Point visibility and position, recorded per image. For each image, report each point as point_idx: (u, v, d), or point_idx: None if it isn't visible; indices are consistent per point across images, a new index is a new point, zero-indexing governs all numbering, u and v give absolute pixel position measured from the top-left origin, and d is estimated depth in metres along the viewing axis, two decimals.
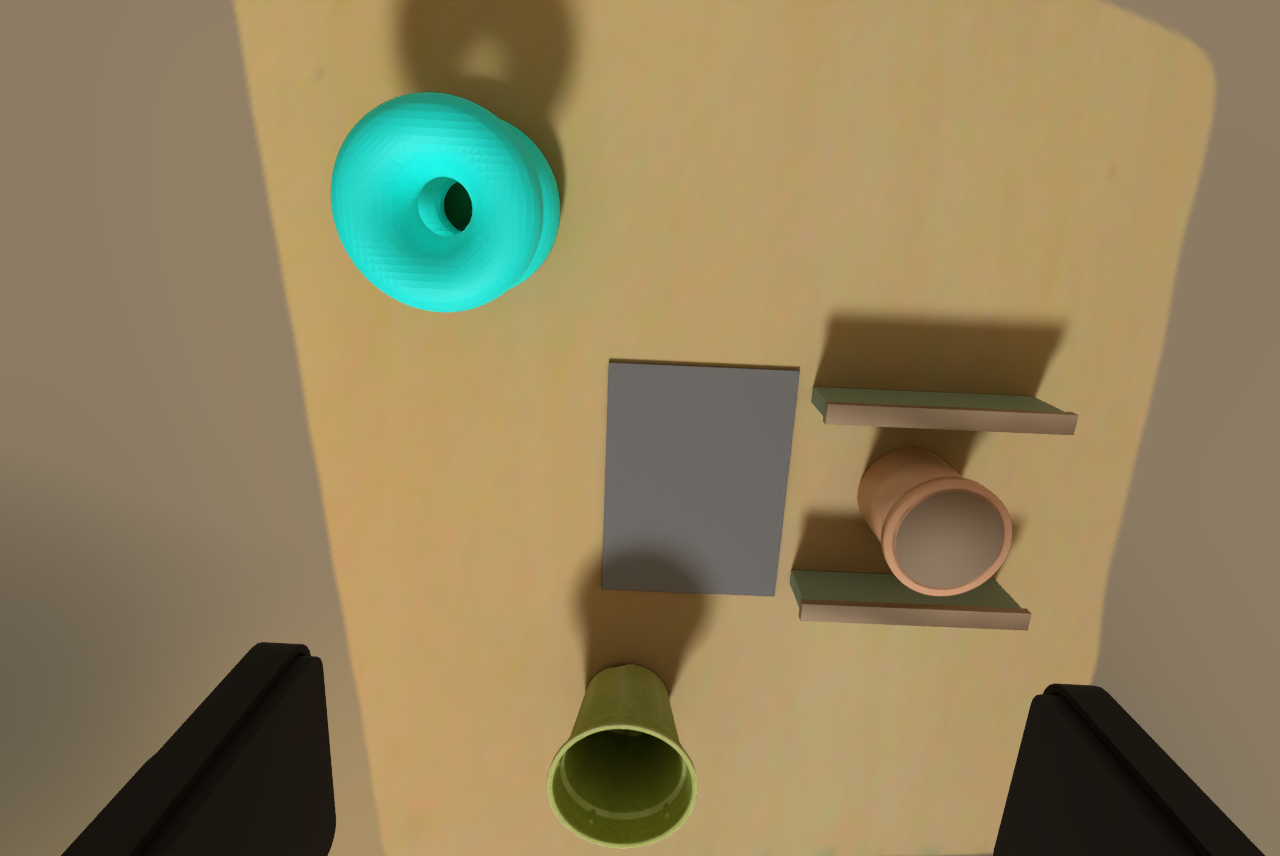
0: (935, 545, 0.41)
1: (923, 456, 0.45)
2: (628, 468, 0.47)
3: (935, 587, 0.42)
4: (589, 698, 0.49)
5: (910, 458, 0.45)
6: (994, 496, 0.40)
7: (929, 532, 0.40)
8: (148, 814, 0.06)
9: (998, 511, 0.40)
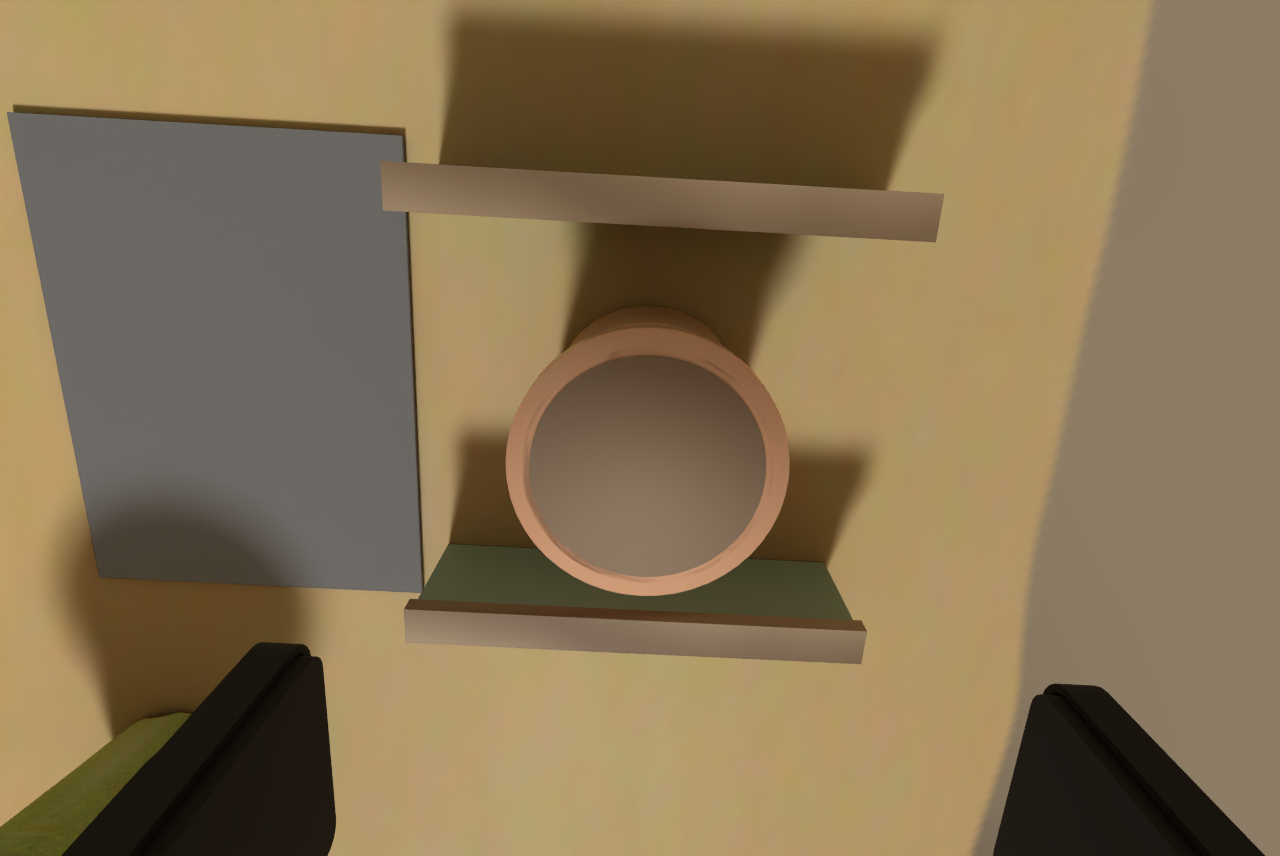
0: (618, 482, 0.18)
1: (655, 312, 0.22)
2: (97, 341, 0.24)
3: (631, 576, 0.19)
4: None
5: (626, 315, 0.22)
6: (740, 367, 0.17)
7: (601, 452, 0.18)
8: (148, 814, 0.06)
9: (752, 403, 0.17)
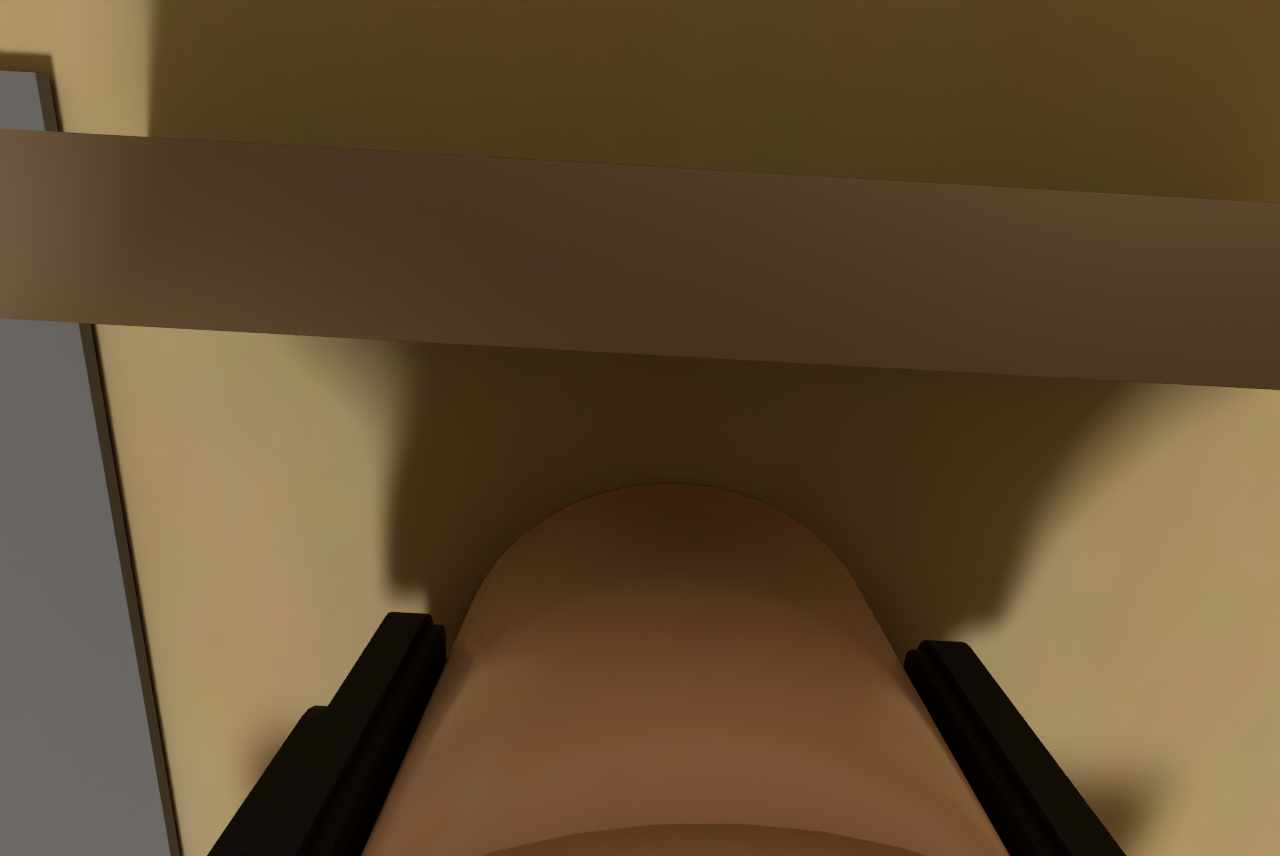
0: None
1: (694, 532, 0.09)
2: None
3: None
4: None
5: (621, 545, 0.08)
6: None
7: None
8: (338, 753, 0.07)
9: None
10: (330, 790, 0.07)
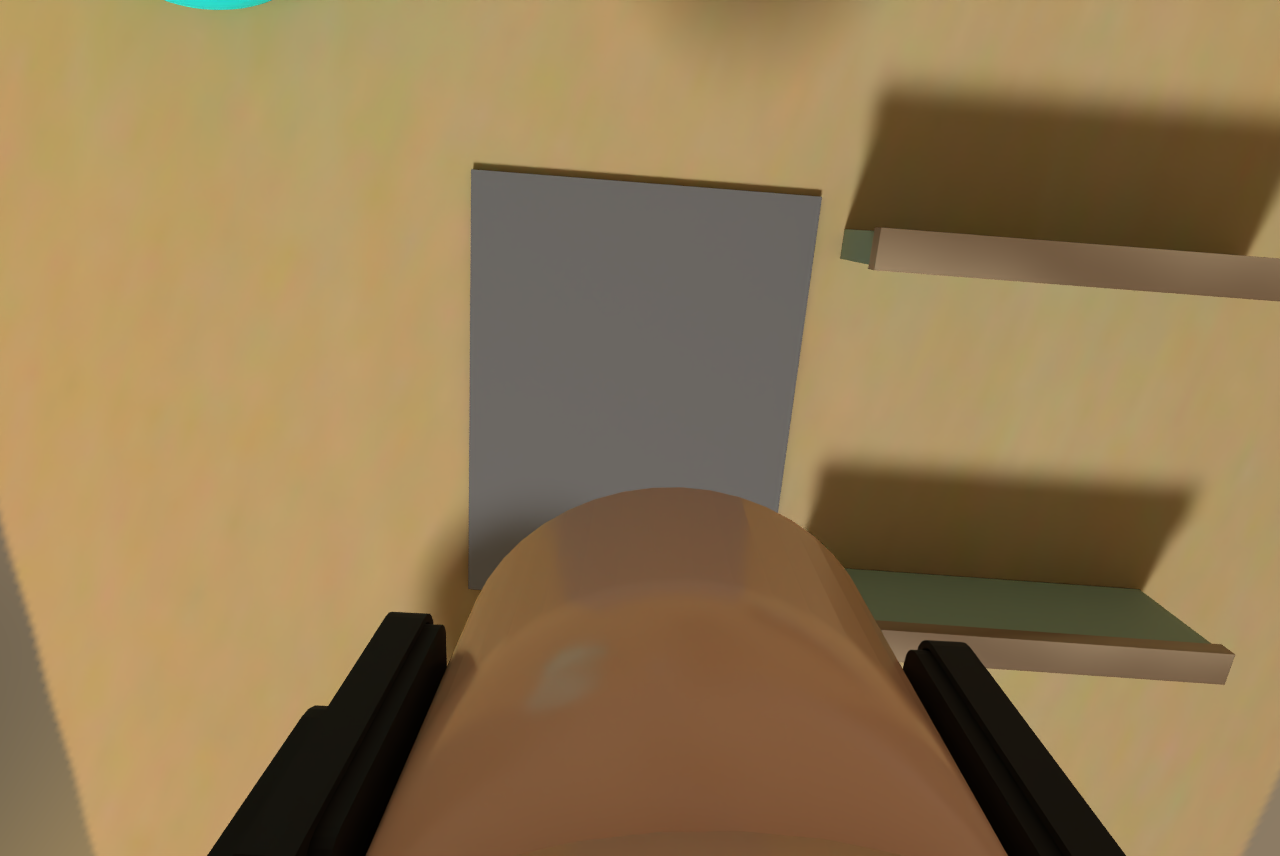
0: None
1: (695, 536, 0.09)
2: (510, 373, 0.26)
3: None
4: None
5: (622, 548, 0.08)
6: None
7: None
8: (339, 753, 0.07)
9: None
10: (331, 788, 0.07)
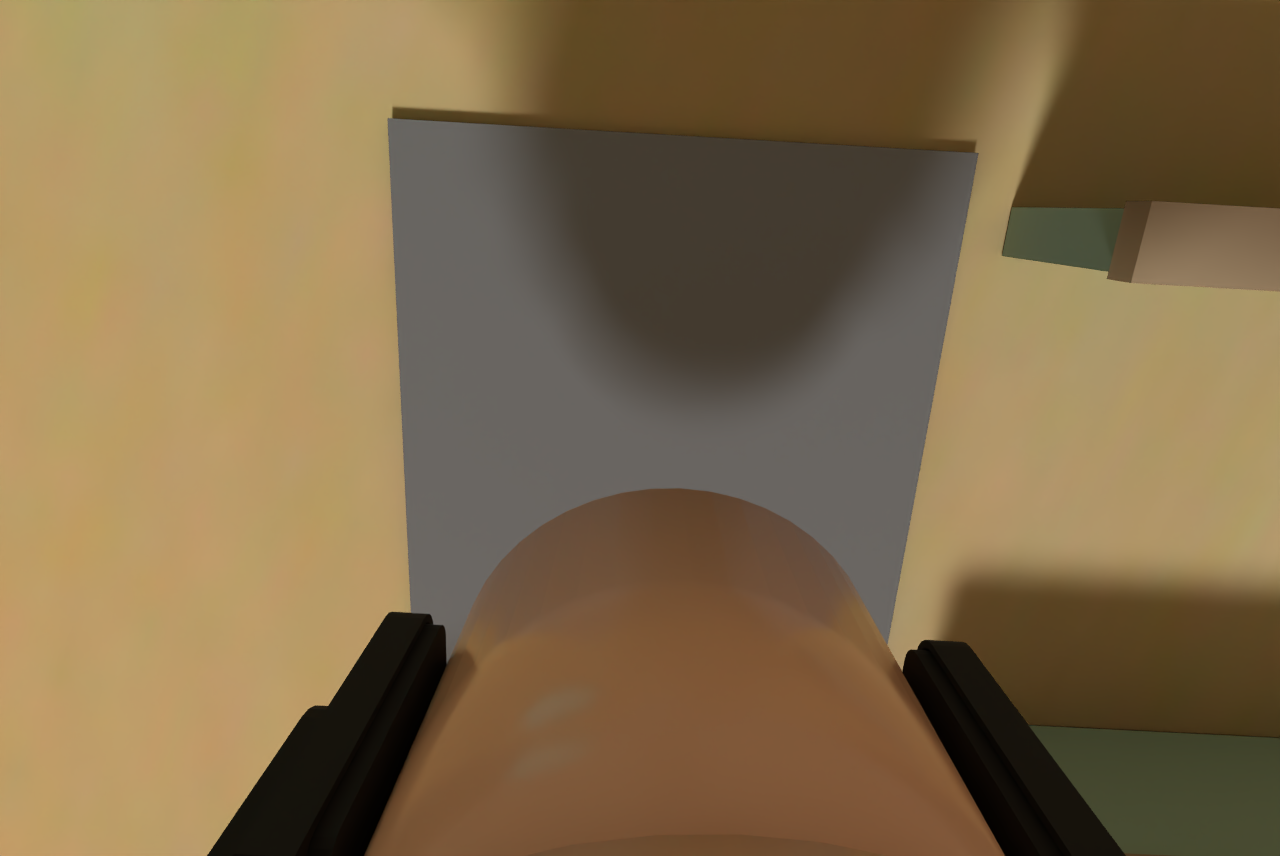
0: None
1: (694, 537, 0.09)
2: (468, 449, 0.17)
3: None
4: None
5: (620, 550, 0.08)
6: None
7: None
8: (338, 753, 0.07)
9: None
10: (331, 789, 0.07)
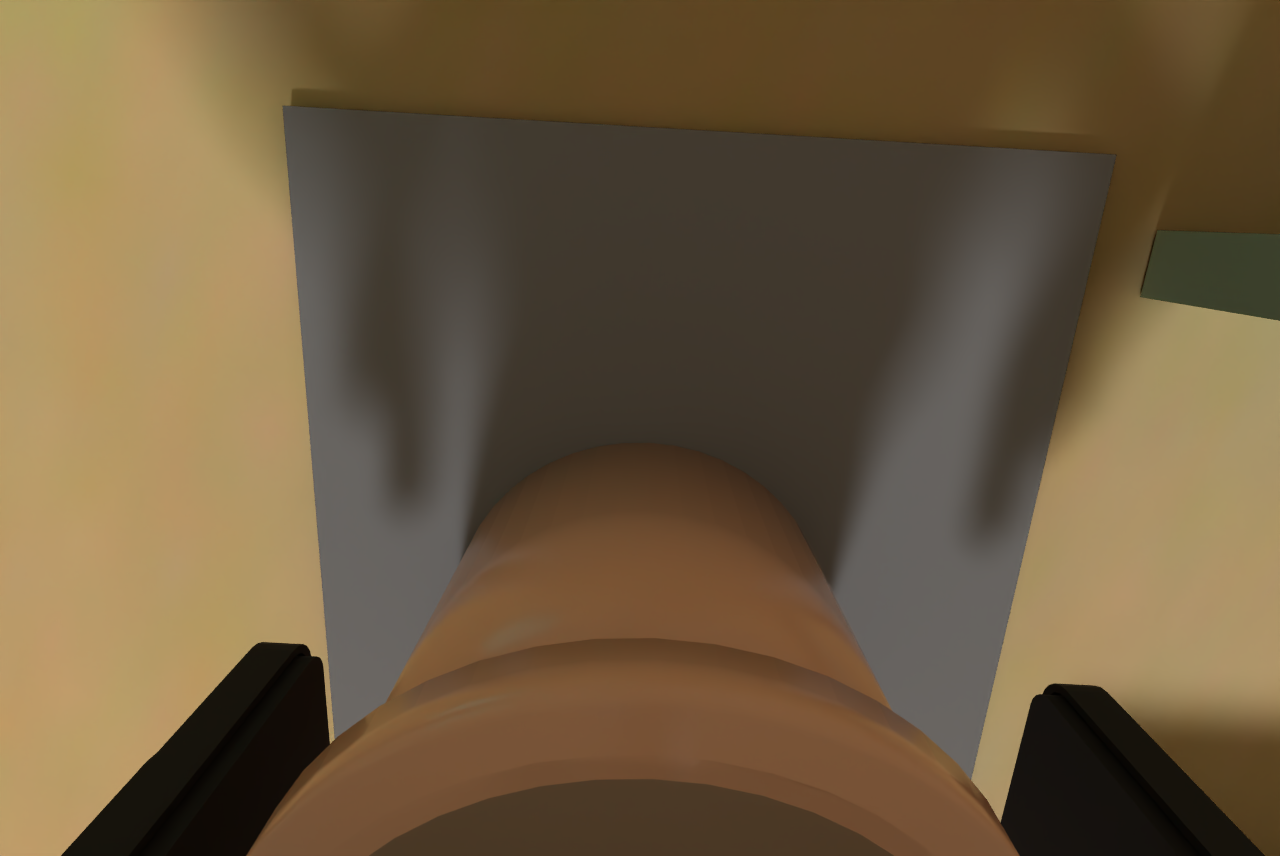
0: None
1: (654, 477, 0.10)
2: (407, 554, 0.12)
3: None
4: None
5: (591, 486, 0.10)
6: (948, 812, 0.05)
7: None
8: (148, 813, 0.06)
9: None
10: None
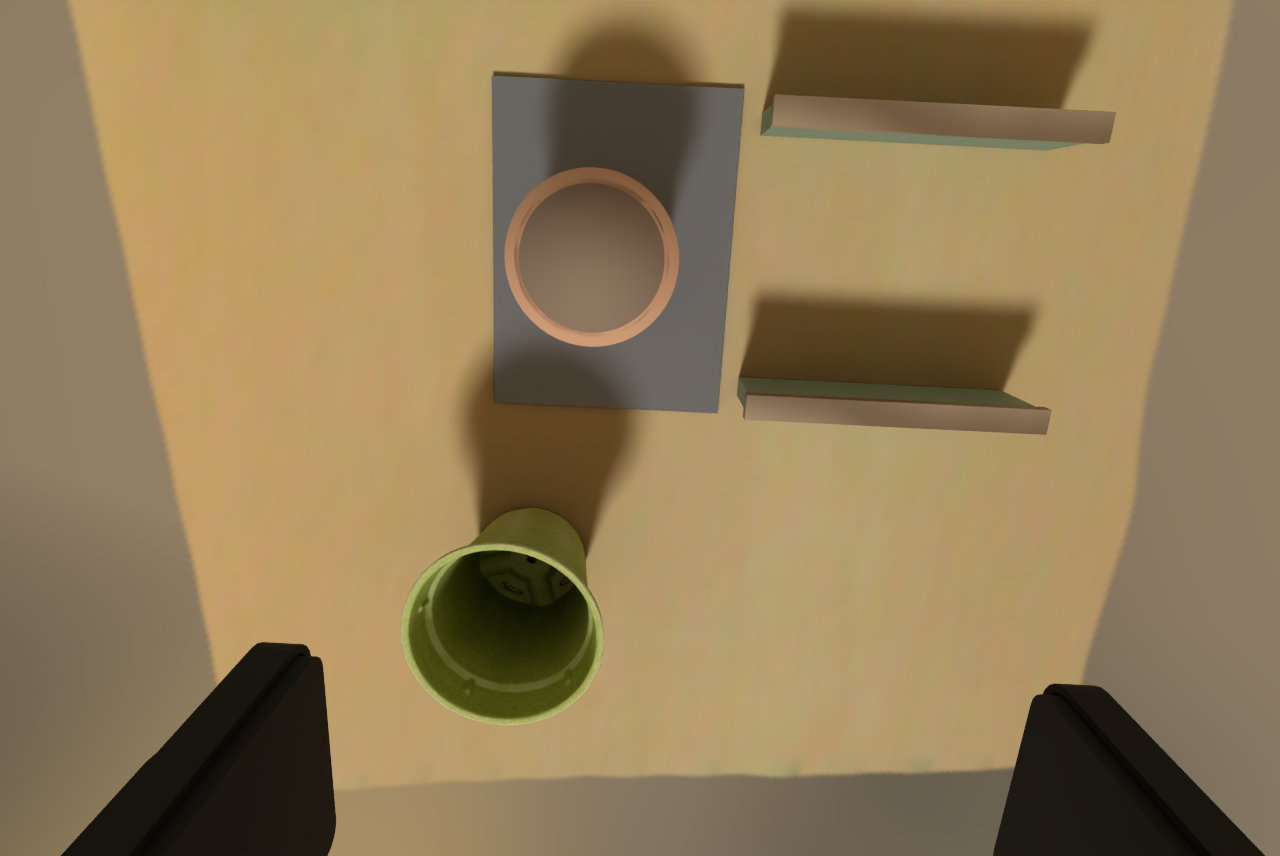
0: (574, 267, 0.29)
1: None
2: None
3: (584, 332, 0.30)
4: None
5: None
6: (645, 190, 0.29)
7: (562, 246, 0.29)
8: (148, 814, 0.06)
9: (653, 213, 0.29)
10: None
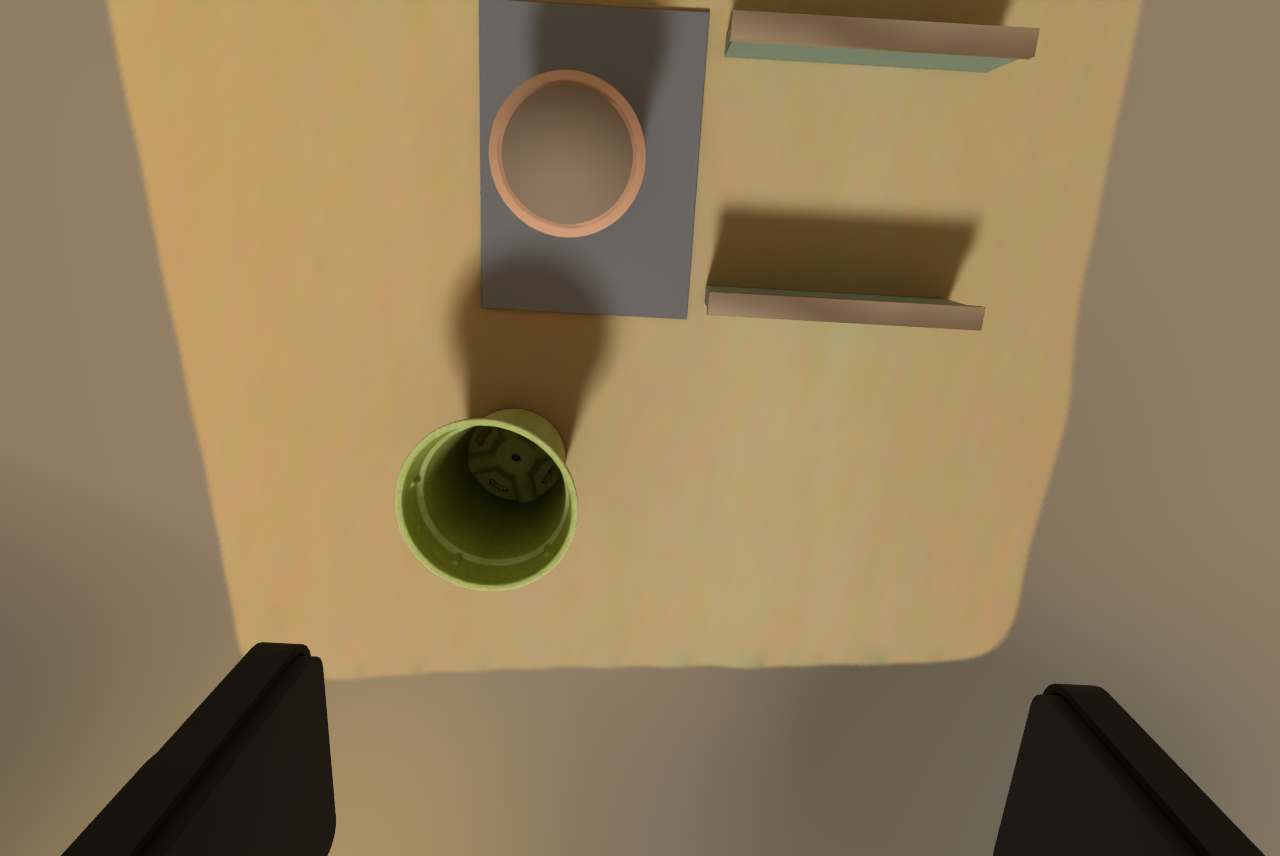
0: (551, 162, 0.33)
1: None
2: None
3: (561, 224, 0.33)
4: (462, 432, 0.41)
5: None
6: (614, 90, 0.32)
7: (541, 143, 0.32)
8: (148, 814, 0.06)
9: (622, 112, 0.32)
10: None
